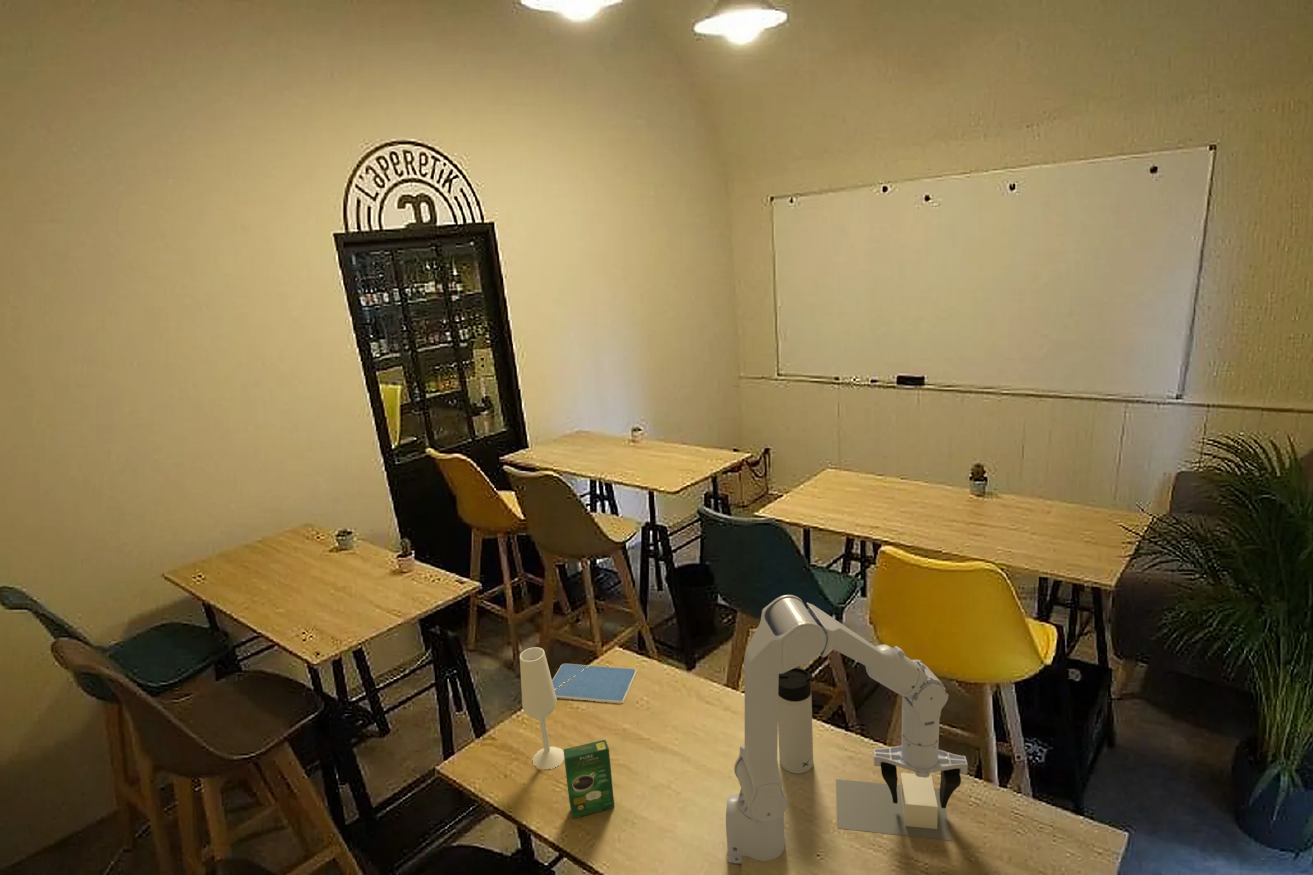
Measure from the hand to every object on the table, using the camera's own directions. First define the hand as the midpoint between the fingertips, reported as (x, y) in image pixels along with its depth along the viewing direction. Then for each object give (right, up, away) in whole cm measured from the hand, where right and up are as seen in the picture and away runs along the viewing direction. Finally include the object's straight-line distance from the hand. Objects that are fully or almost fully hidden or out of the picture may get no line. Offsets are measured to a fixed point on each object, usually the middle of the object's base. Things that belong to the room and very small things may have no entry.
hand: (918, 801), depth 118 cm
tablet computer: (-60, +4, +44) cm, 74 cm away
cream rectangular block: (0, -2, +1) cm, 2 cm away
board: (-4, -3, +2) cm, 5 cm away
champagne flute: (-66, -3, +22) cm, 70 cm away
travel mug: (-18, -1, +14) cm, 23 cm away
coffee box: (-56, -6, +9) cm, 57 cm away
